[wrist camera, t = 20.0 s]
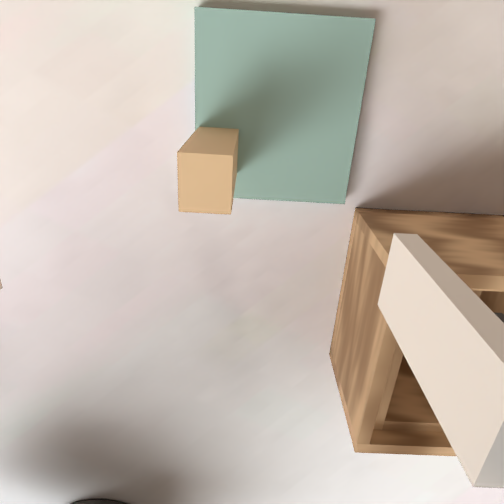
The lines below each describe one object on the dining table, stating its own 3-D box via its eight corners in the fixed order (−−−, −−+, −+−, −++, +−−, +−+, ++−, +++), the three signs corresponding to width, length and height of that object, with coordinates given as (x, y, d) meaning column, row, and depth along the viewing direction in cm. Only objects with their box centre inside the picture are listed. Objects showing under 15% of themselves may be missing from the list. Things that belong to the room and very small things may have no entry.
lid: (197, 190, 35) (174, 243, 25) (197, 9, 29) (166, -21, 19) (340, 198, 36) (377, 254, 25) (370, 20, 29) (433, -3, 19)
